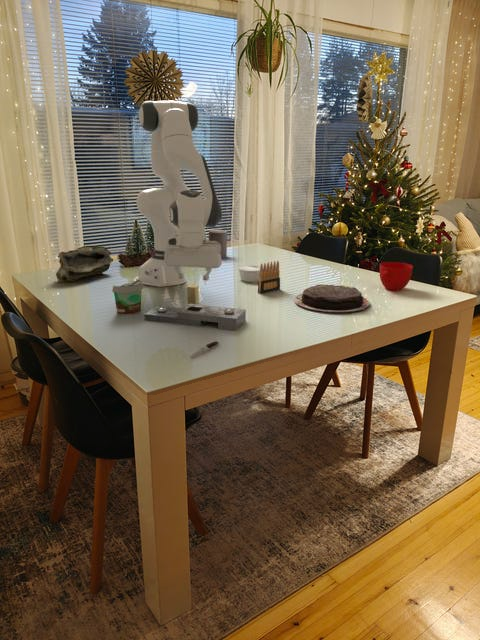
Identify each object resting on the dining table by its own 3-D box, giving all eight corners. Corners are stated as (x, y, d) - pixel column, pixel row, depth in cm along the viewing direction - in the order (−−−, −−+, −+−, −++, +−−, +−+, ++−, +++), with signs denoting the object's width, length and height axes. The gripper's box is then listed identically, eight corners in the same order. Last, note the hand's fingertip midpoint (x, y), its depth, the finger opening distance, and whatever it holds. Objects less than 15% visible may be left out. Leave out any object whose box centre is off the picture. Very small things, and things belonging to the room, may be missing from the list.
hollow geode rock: (110, 281, 232) (95, 255, 234) (123, 265, 224) (106, 238, 227) (57, 292, 210) (41, 263, 213) (69, 274, 202) (52, 245, 205)
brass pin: (187, 308, 177) (187, 286, 175) (191, 306, 180) (190, 284, 177) (195, 309, 176) (195, 287, 174) (198, 307, 179) (198, 285, 177)
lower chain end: (144, 319, 165) (143, 311, 164) (158, 311, 174) (157, 303, 173) (200, 326, 159) (200, 317, 158) (211, 317, 168) (211, 308, 167)
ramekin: (265, 277, 223) (265, 265, 222) (263, 283, 213) (263, 271, 211) (240, 276, 224) (240, 264, 223) (237, 282, 214) (237, 270, 212)
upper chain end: (177, 323, 161) (177, 309, 160) (189, 314, 170) (189, 300, 169) (236, 330, 156) (236, 315, 154) (245, 321, 165) (245, 306, 163)
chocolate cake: (291, 293, 200) (291, 277, 198) (361, 294, 199) (362, 278, 197) (296, 314, 173) (297, 296, 171) (377, 316, 172) (379, 298, 170)
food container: (127, 317, 167) (125, 288, 164) (113, 314, 170) (111, 286, 167) (151, 308, 177) (150, 281, 174) (139, 305, 180) (137, 278, 177)
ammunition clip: (260, 293, 197) (261, 264, 193) (257, 292, 198) (258, 263, 194) (280, 289, 203) (281, 260, 199) (277, 288, 204) (278, 259, 201)
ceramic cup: (366, 290, 203) (369, 266, 199) (386, 283, 214) (389, 260, 211) (396, 297, 194) (399, 272, 191) (415, 289, 206) (418, 265, 203)
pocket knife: (217, 345, 145) (217, 338, 144) (220, 345, 144) (220, 339, 144) (187, 360, 134) (187, 353, 133) (190, 361, 134) (190, 354, 133)
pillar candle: (206, 258, 261) (206, 229, 256) (210, 254, 270) (211, 226, 266) (224, 259, 260) (225, 230, 255) (228, 255, 269) (228, 227, 264)
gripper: (223, 239, 170) (224, 279, 174) (169, 237, 176) (171, 275, 180) (217, 242, 164) (218, 283, 168) (161, 239, 170) (163, 279, 174)
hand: (193, 279), depth 174 cm, fingers open, 8 cm apart
